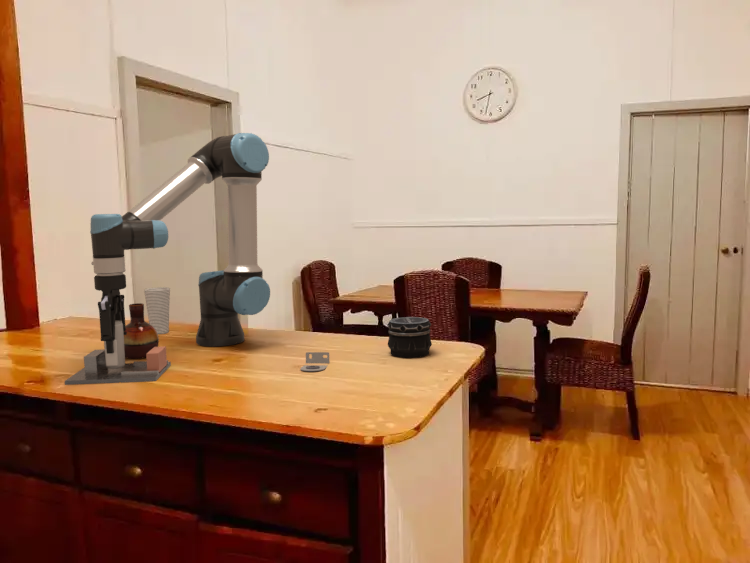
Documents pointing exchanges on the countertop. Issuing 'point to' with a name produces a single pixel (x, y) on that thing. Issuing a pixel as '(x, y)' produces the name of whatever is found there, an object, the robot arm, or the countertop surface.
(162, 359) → the block
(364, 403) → the countertop surface
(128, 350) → the vase
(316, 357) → the bracket
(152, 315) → the cup
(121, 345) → the beverage can
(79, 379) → the grey vise base
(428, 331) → the container
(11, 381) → the countertop surface
